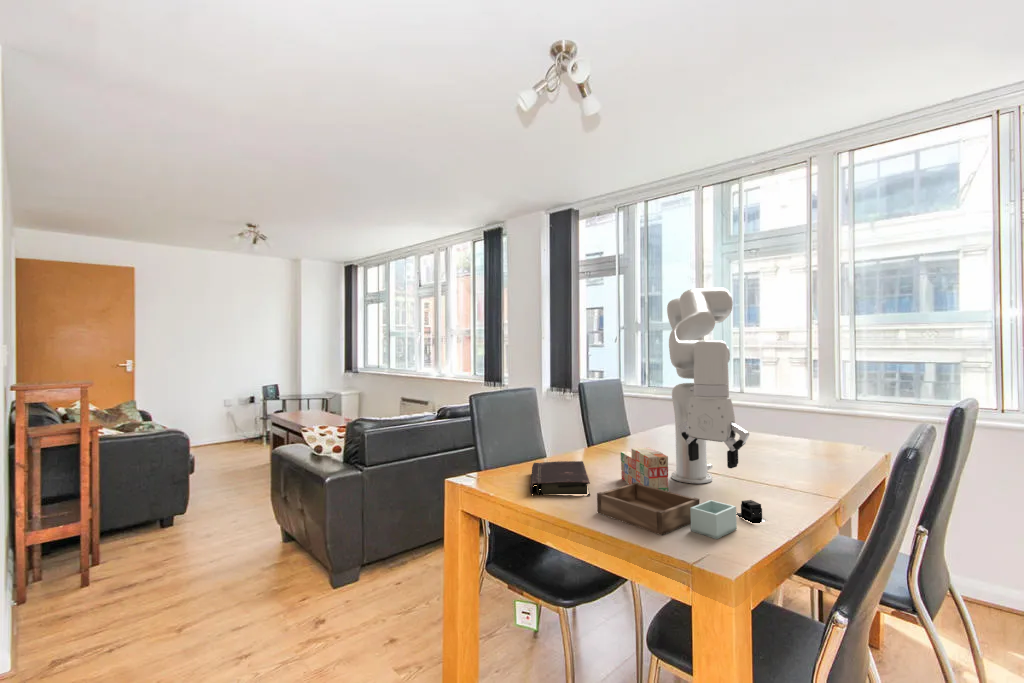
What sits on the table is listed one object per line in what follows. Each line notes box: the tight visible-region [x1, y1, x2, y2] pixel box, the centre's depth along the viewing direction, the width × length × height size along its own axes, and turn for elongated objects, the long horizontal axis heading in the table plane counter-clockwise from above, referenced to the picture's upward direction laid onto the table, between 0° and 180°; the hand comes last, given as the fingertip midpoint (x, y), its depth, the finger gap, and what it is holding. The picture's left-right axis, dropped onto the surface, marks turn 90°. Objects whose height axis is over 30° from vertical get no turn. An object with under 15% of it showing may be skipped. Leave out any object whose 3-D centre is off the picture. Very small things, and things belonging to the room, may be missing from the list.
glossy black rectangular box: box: [736, 499, 767, 523], centre depth 121 cm, size 12×7×5 cm, turn 12°
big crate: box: [596, 482, 700, 536], centre depth 124 cm, size 16×20×5 cm
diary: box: [529, 460, 591, 496], centre depth 154 cm, size 19×25×5 cm
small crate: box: [690, 499, 738, 540], centre depth 114 cm, size 9×6×6 cm
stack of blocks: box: [620, 447, 669, 492], centre depth 149 cm, size 21×6×12 cm, turn 9°
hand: (712, 463), depth 114 cm, fingers open, 9 cm apart
